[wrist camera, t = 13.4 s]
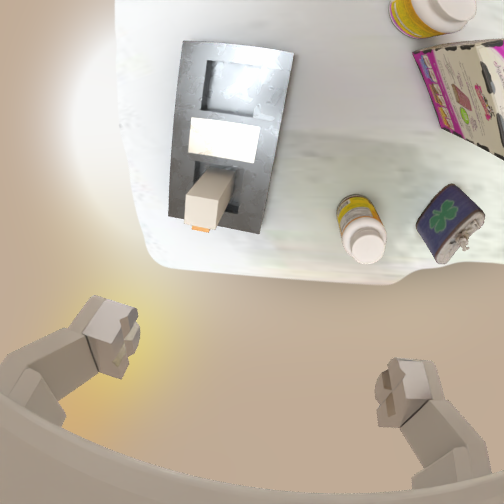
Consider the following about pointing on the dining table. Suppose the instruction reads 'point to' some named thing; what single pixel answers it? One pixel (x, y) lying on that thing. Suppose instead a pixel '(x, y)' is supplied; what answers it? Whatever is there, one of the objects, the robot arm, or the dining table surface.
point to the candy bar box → (468, 89)
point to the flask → (449, 222)
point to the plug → (209, 199)
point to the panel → (228, 124)
